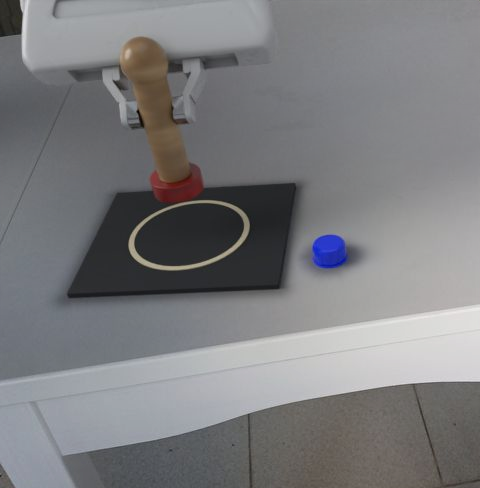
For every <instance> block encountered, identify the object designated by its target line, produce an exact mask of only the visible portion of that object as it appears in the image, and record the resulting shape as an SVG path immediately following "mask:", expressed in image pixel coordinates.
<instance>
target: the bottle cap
mask: <svg viewBox="0 0 480 488" xmlns="http://www.w3.org/2000/svg"><path fill="white" fill-rule="evenodd" d="M311 248H312V249H311V250H312V262H313V264H314V265H316V266H317V267H319V268H322V269H335V268H338V267H340V266H342V265H344V264H345V263H346V262H347V261H348V252H347V246H346V241H345V240H344V238H342V236H340V235H337V234H332V233H331V234H324V235H321V236H319V237H317V238H315V240H314V241H313V243H312V246H311Z"/></svg>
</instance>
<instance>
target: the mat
mask: <svg viewBox="0 0 480 488" xmlns="http://www.w3.org/2000/svg"><path fill="white" fill-rule="evenodd" d="M296 185H297V184H296V182H288V183H287V182H286V183H268V184H267V183H266V184H251V185H249V184H248V185H233V186H215V187H204V188H203V190H202V192H201V193H200V194H199V195H197V196H196V197H194V198H192V199H190V200H187V201H184V202H180V203H164V202H161V201H159V200H157V199H156V198H155V196H154V194H153V190H145V191H143V190H142V191H125V192H117V193H116V194H115V196H114V198H113V200H112V201H111V203H110V206H109V208H108V210H107V212H106V214H105V216H104V218H103V220H102V222H101V224H100V226H99V228H98V230H97V232H96V234H95V236H94V238H93V240H92V241H91V244H90V246H89V248H88V250H87V252H86V254H85V257H84V258H83V260H82V262H81V264H80V266H79V268H78V270H77V272H76V274H75V276H74V278H73V280H72V283H71V284H70V286H69V289H68V290H67V292H66V296H67V298H68V299H79V298H101V297H102V298H103V297H122V296H125V297H126V296H127V297H128V296H148V295H151V296H152V295H169V294H170V295H172V294H195V293H215V292H217V293H219V292H239V291H240V292H243V291H265V290H267V291H268V290H279V289H280V288H281V282H282V275H283V271H284V263H285V256H286V250H287V244H288V239H289V232H290V226H291V220H292V213H293V207H294V200H295V195H296V188H297V186H296Z"/></svg>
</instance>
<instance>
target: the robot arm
mask: <svg viewBox="0 0 480 488" xmlns="http://www.w3.org/2000/svg"><path fill="white" fill-rule="evenodd" d="M19 5H20V10H21V14H22V22H21V58H22V59H21V60H22V62H23V64H24V66H25V68H26V69H27V70H28V71H29V72H30V73H31V74H32V75H33V76H34V77H35V78H36V79H38V80H39V81H40V82H41V83H42V84H44V85H46V86H48V87H60V86H68V85H77V84H90V83H97V82H102V83H103V84H104V86H105V87H106V89H107V90H108V91H109V93H110V94H111V95H112V97H113V98H114V100H115V101H116V103H117V104H118V105H119V117H120V123H121V126H122V128H124V129H125V130H126V131H135V130H145V129H144V126H143V123H142V119H141V116H140V112H139V109H138V106H137V102H136V100H131V101H130V100H128V99H127V97H126V96H125V94H124V92H125V91H128V90H129V80H128V79H127V78H126V76H125V75H124V73H123V72H122V69H121V66H120V60H119V59H120V52H121V49H122V47H123V46H124V44H125V43H126V42H127V41H129V40H130V39H132V38H135V37H140V36H144V37H149V38H151V39H153V40H155V41H157V42H158V43H159V44H160V45H161V46H162V47H163V49H164V50H165V52H166V55H167V58H168V70H167V73H166V75H174V74H175V75H176V74H183V75H184V76H185V78H186V79H187V80H186V83H185V85H184V88H183V90H182V93H181V94H180V95H179V96H172V106H173V108H174V109H173V111H172V112H173V118H174V121H175V122H177V125H179V126H180V125H194V124H196V122H197V118H196V107H195V106H196V105H195V104H196V103H197V102H198V99H199V98H200V96H201V94H202V92H203V90H204V88H205V85H206V83H207V76H206V71H213V70H223V69H232V68H233V69H234V68H241V67H251V66H261V65H269V64H271V63H273V61H274V59H275V58H276V57H277V55H278V54H279V51H280V48H279V39H278V33H277V27H276V23H275V17H274V14H273V9H272V5H271V1H270V0H19Z"/></svg>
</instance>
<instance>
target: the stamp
mask: <svg viewBox="0 0 480 488" xmlns="http://www.w3.org/2000/svg"><path fill="white" fill-rule="evenodd" d="M119 60H120V66H121V69H122V72H123V73H124V75H125V76H126V78H127V79H128V82H130V86H131V88H132V91H133V92H132V93H133V95H134V98H135V101H136V102H137V106H138V109H139V112H140V116H141V119H142V123H143V126H144V129H143V130H144V132H145V137H146V139H147V142H148V146H149V150H150V154H151V157H152V161H153V163H154V166H155V170H154V171H153V172H152V173H151V174H150V176H149V184H150V187H151V191H153V194H154V196H155V198H156V199H157V200H159V201H161V202H164V203H180V202H184V201H187V200H190V199H192V198H194V197H196V196H197V195H199V194H200V193H201V192H202V190H203V188H205V183H204V179H203V178H204V177H203V175H202V170H201V168H200V167H199V166H198V165H197V164H196V163H193V162H190V161H189V158H188V157H189V156H188V153H187V150H186V146H185V142H184V138H183V134H182V129H181V126H180V125H177V122H175V121H174V118H173V112H172V111H173V109H174V108H173V106H172V97H173V95H172V92H171V87H170V83H169V79H168V76H167V75H168V74H166V73H167V70H168V58H167V55H166V52H165V50H164V49H163V47H162V46H161V45H160V44H159V43H158V42H157V41H155V40H153V39H151V38H149V37H144V36H140V37H135V38H132V39H130V40H129V41H127V42H126V43H125V44H124V46H123V47H122V49H121V52H120V59H119Z"/></svg>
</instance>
